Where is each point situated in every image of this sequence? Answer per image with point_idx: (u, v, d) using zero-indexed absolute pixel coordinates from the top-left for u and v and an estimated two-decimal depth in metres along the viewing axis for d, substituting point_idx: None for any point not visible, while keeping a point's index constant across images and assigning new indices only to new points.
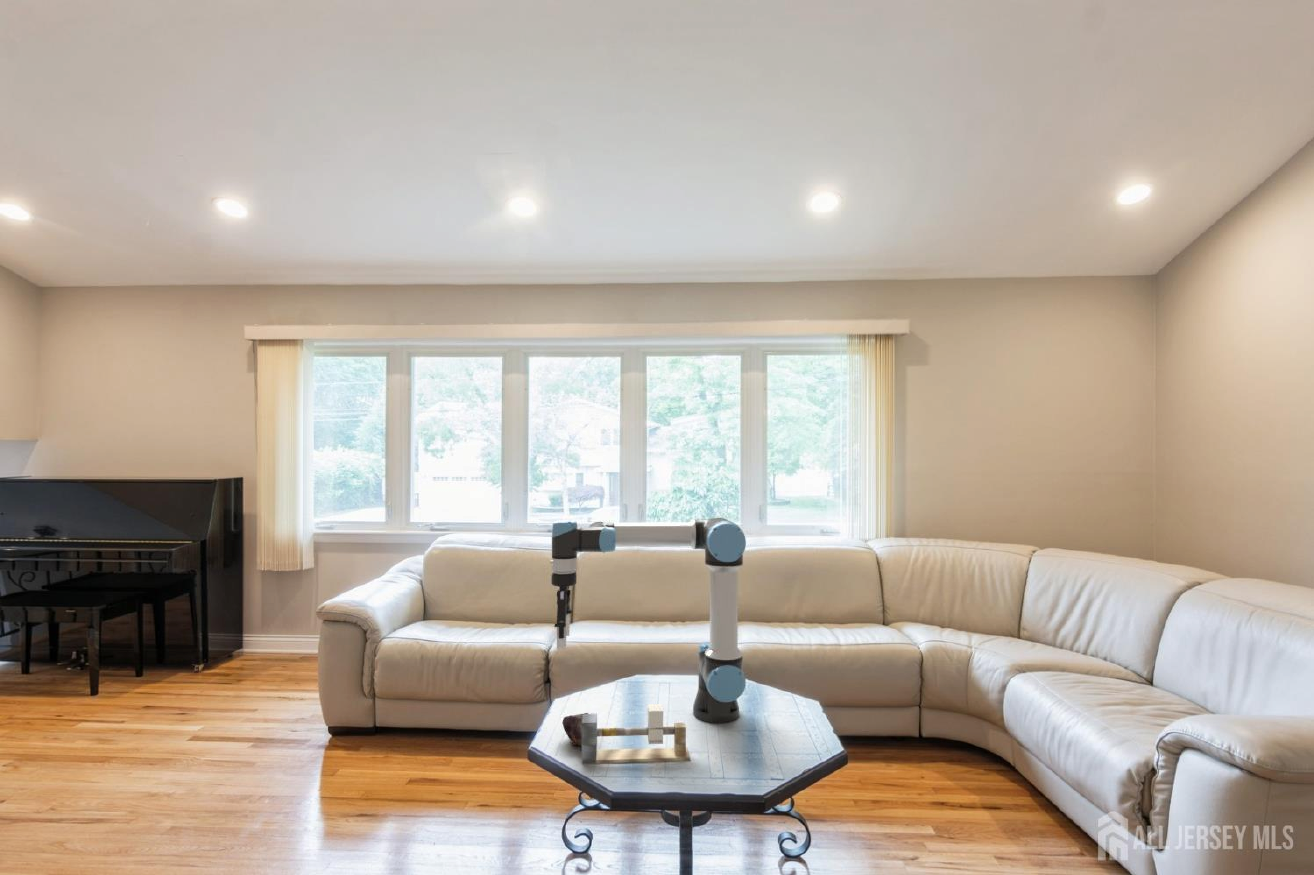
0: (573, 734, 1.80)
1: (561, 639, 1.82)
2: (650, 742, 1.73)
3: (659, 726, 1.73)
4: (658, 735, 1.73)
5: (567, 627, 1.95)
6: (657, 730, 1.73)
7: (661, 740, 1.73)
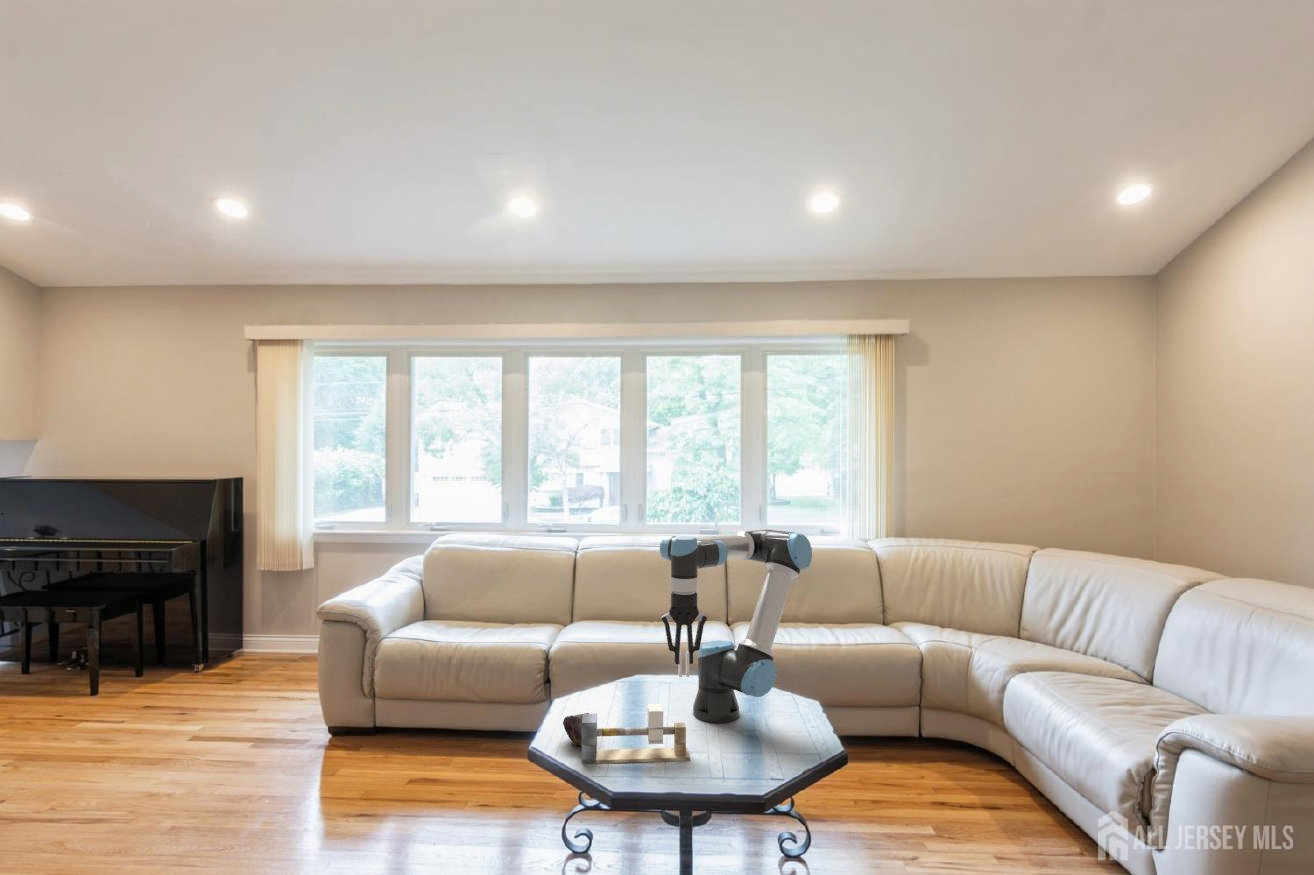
0: (573, 734, 1.79)
1: None
2: (650, 742, 1.73)
3: (659, 726, 1.73)
4: (658, 735, 1.73)
5: (686, 666, 1.76)
6: (657, 730, 1.73)
7: (661, 740, 1.73)
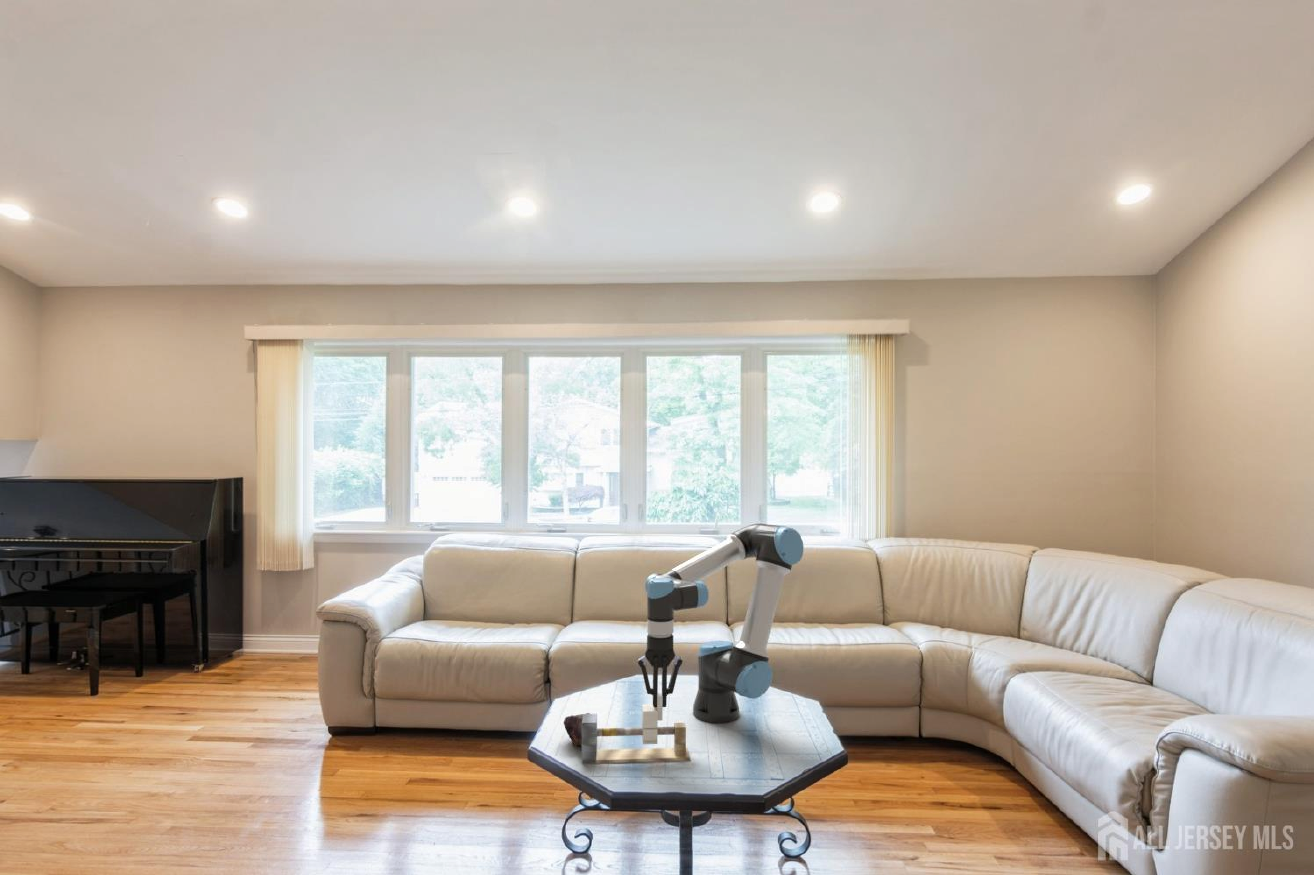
0: (574, 734, 1.79)
1: None
2: (644, 742, 1.73)
3: (653, 726, 1.73)
4: (652, 735, 1.73)
5: None
6: (651, 730, 1.73)
7: (656, 740, 1.73)
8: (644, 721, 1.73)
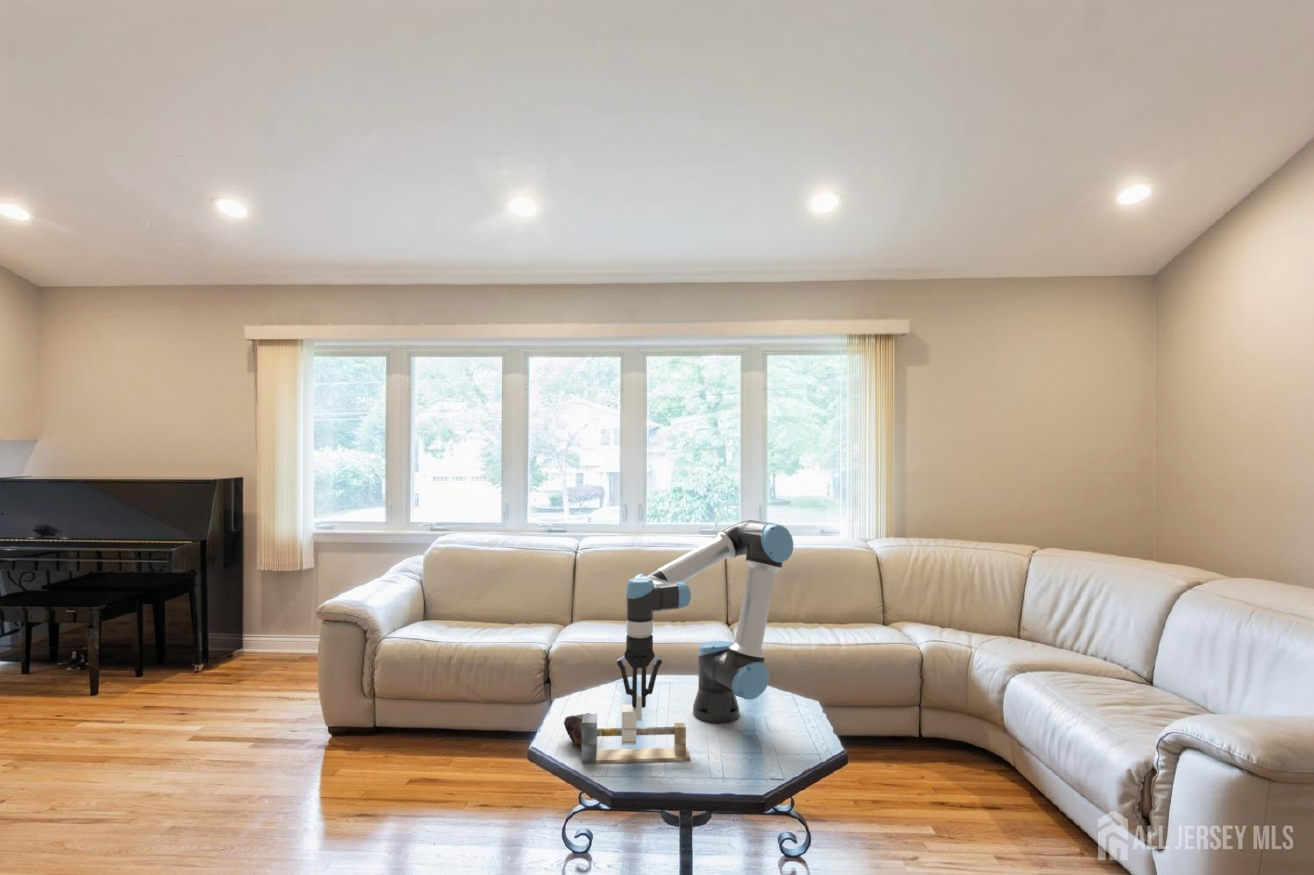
0: (574, 734, 1.79)
1: (636, 708, 1.75)
2: (623, 743, 1.72)
3: (632, 727, 1.73)
4: (631, 735, 1.73)
5: None
6: (630, 731, 1.73)
7: (635, 741, 1.73)
8: (623, 722, 1.72)
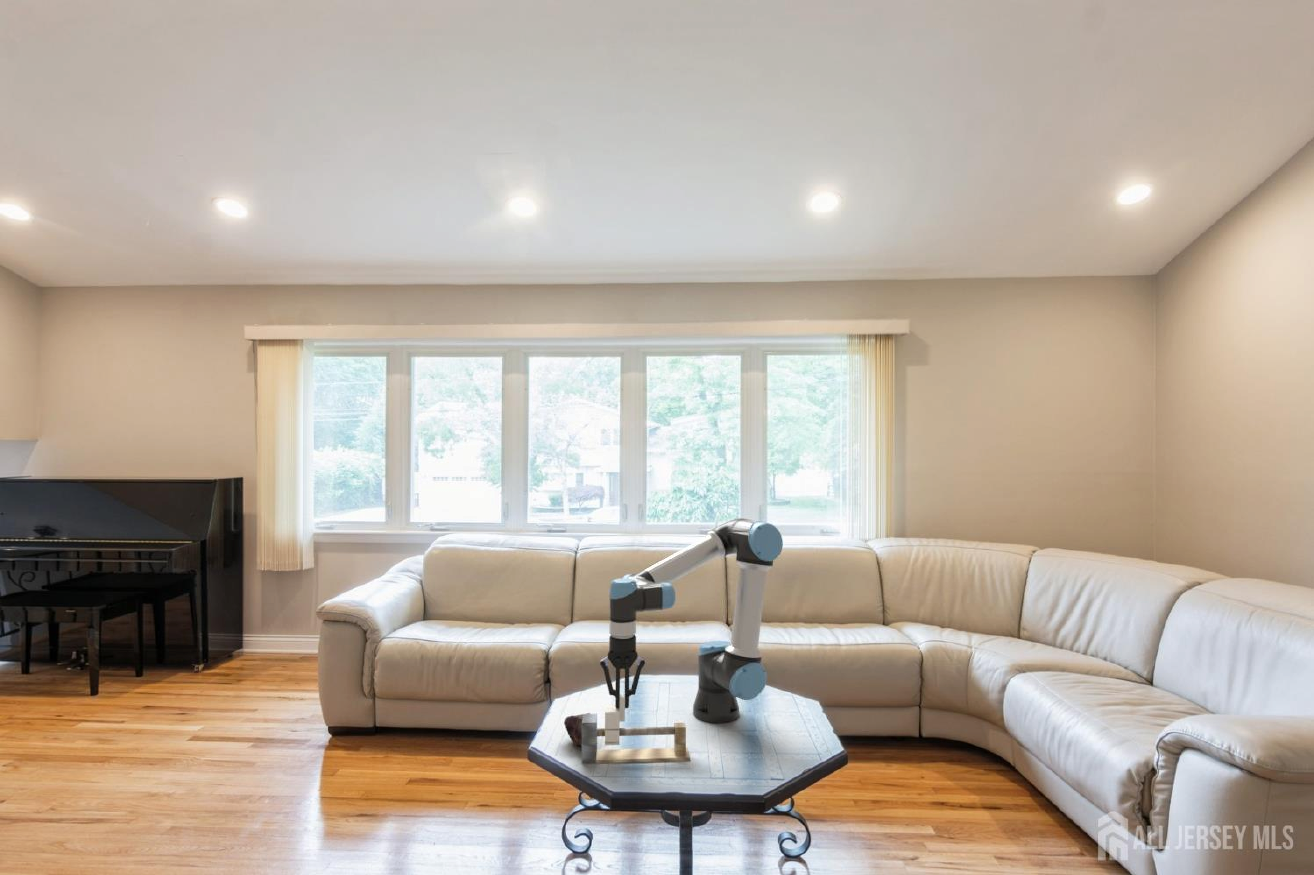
0: (574, 734, 1.79)
1: None
2: (606, 743, 1.72)
3: (615, 727, 1.72)
4: (614, 736, 1.72)
5: None
6: (613, 731, 1.72)
7: (618, 741, 1.72)
8: (606, 722, 1.72)
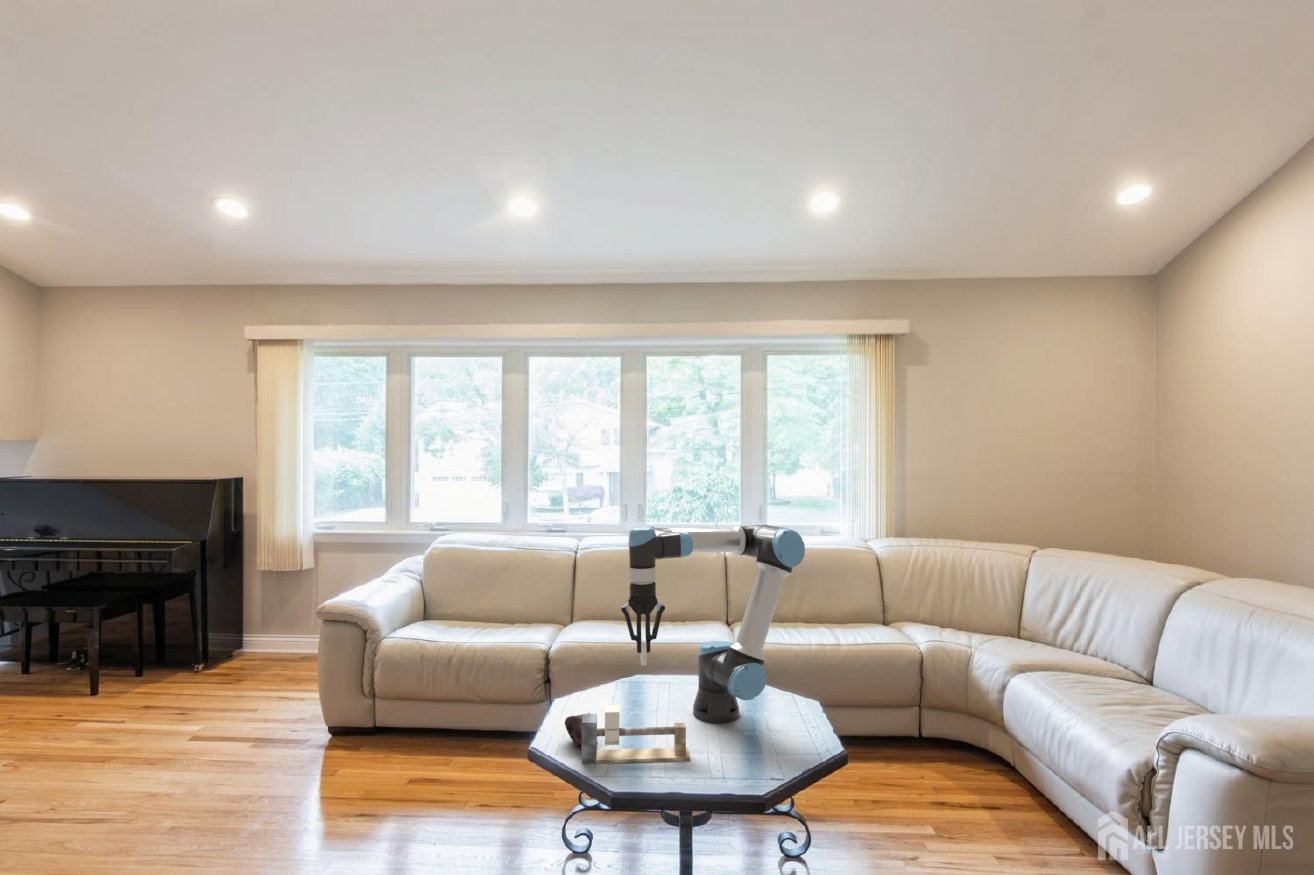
0: (575, 734, 1.79)
1: None
2: (606, 743, 1.72)
3: (615, 727, 1.72)
4: (614, 736, 1.72)
5: None
6: (613, 731, 1.72)
7: (617, 741, 1.72)
8: (606, 722, 1.72)
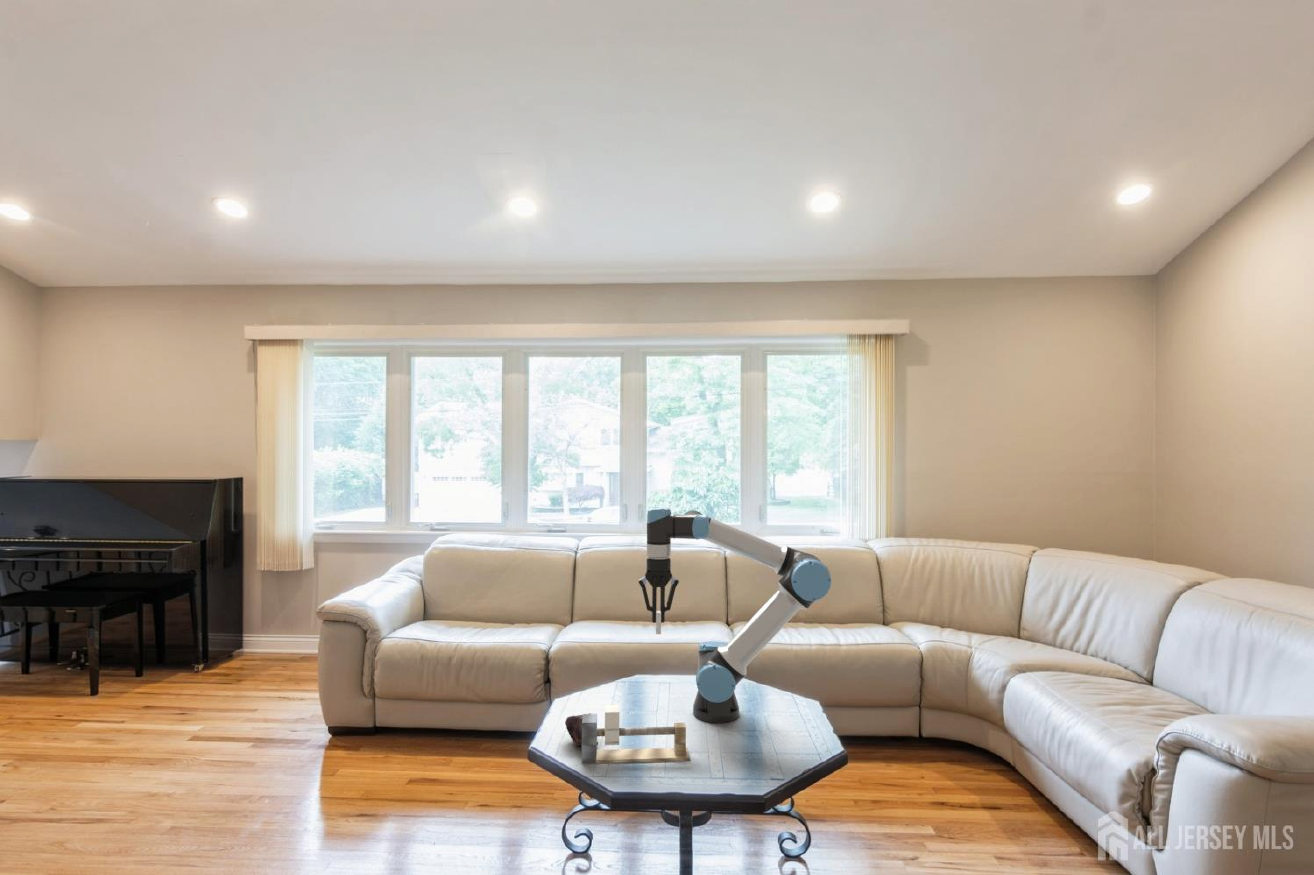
0: (575, 734, 1.79)
1: None
2: (606, 743, 1.72)
3: (615, 727, 1.72)
4: (614, 736, 1.72)
5: None
6: (613, 731, 1.72)
7: (617, 741, 1.72)
8: (606, 722, 1.72)
